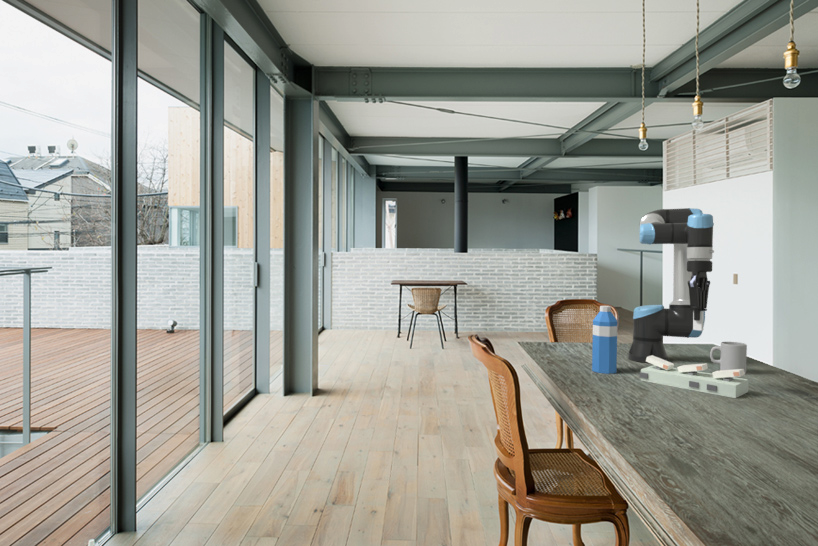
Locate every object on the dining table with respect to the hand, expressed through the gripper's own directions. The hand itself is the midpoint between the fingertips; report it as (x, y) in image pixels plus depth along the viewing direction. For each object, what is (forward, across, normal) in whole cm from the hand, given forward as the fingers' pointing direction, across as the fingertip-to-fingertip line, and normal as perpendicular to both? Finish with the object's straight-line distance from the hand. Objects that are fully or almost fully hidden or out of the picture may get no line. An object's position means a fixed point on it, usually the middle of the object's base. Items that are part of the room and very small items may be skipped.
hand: (698, 330), depth 175 cm
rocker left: (+13, +1, +13) cm, 18 cm away
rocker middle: (+13, +1, +2) cm, 13 cm away
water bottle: (+19, -1, +33) cm, 38 cm away
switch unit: (+19, +1, +2) cm, 20 cm away
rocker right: (+13, +1, -9) cm, 16 cm away
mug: (+19, +35, +2) cm, 40 cm away
